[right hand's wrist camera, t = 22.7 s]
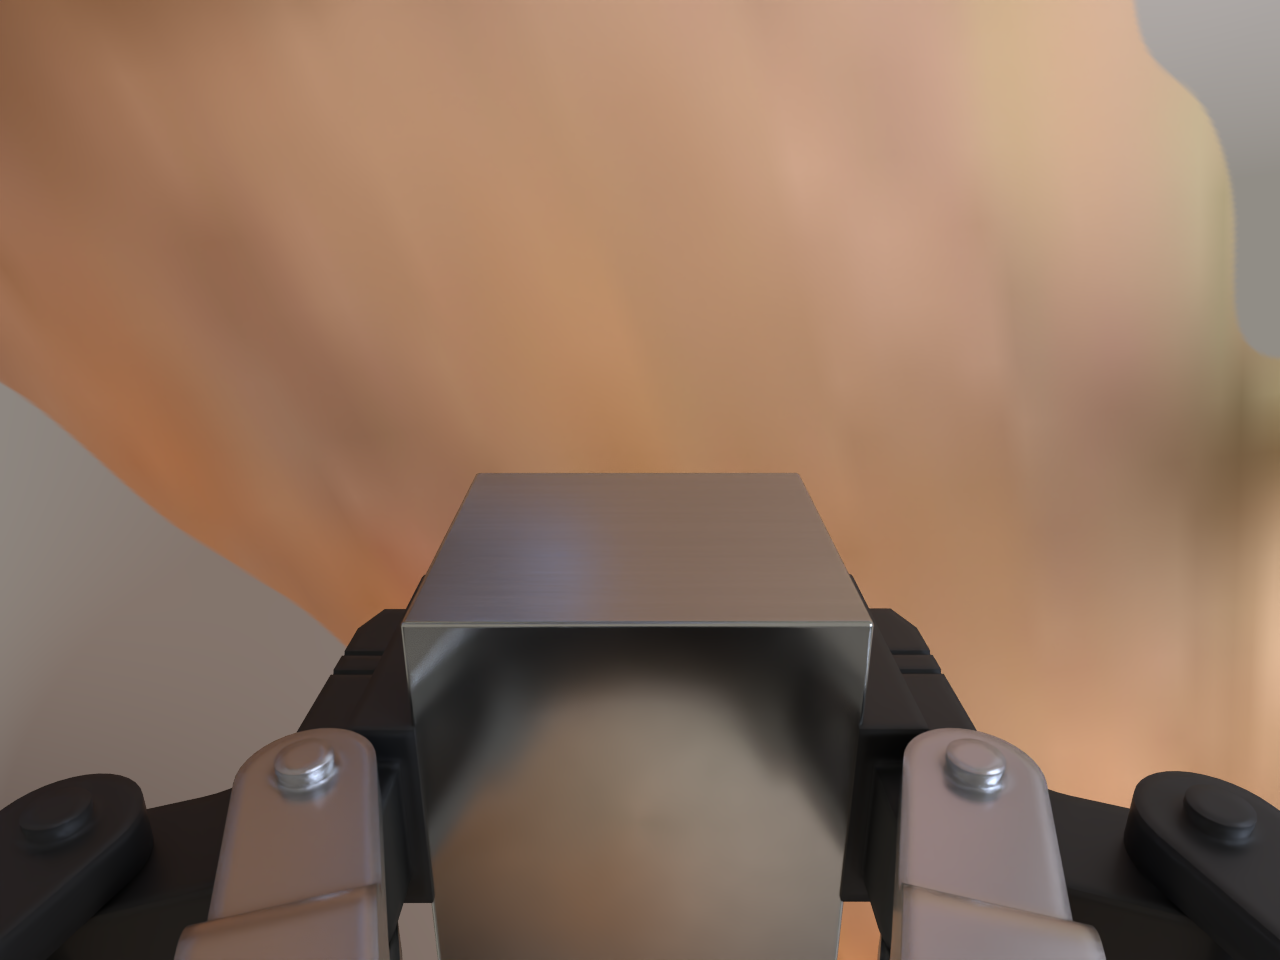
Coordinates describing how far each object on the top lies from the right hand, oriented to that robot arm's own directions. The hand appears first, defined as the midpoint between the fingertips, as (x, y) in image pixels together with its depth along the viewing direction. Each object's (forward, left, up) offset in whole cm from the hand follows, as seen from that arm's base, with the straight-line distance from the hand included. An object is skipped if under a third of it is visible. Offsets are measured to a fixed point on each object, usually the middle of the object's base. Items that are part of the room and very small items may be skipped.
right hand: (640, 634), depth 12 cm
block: (0, 0, 0) cm, 1 cm away
